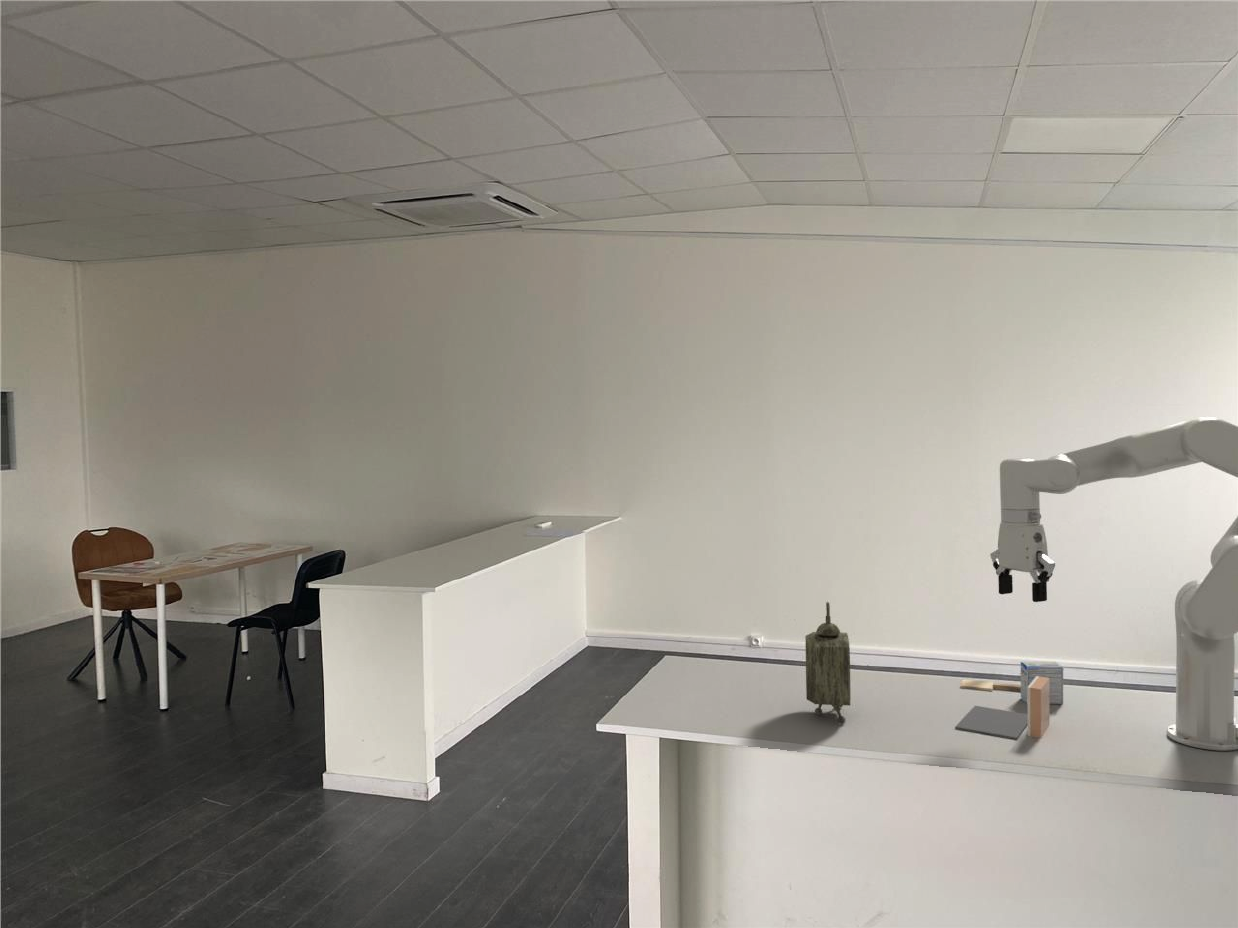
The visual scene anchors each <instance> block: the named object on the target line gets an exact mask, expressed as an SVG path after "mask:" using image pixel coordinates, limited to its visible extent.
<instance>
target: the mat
mask: <svg viewBox="0 0 1238 928" xmlns="http://www.w3.org/2000/svg"><path fill="white" fill-rule="evenodd" d="M1026 728H1028V713H1023V712H1016V711H1010V710H1004V709H999V708H998V709H997V708H992V707H986V706H979V705H974V706H973V707H972V708H971V709H970V710H969V712H967V713H966V714H965V716H964V717H962V719H960V721H959V722H958V723H957V724H956V725H955V727H954V729H956V730H960V731H966V732H967V731H968V732H973V733H978V734H983V735H989V736H995V737H998V738H1000V737H1001V738H1006V739H1011V740H1019V737H1020V736H1021V735H1022V733H1023V732H1024V731H1025V729H1026Z"/></svg>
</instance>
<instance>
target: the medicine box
mask: <svg viewBox="0 0 1238 928" xmlns="http://www.w3.org/2000/svg"><path fill="white" fill-rule="evenodd" d="M1036 676H1039V677H1046V678H1049V705H1063V704H1064V666H1062V665H1061V664H1060V663H1058V662H1057V661H1020V685H1021V691H1020V698H1021V699H1022V700H1023V702H1025V703H1026V704H1027V705H1028V703H1027V687H1028V686H1029V685H1030V683H1031V682H1032V681H1033V680H1034V679H1035V677H1036Z"/></svg>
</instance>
